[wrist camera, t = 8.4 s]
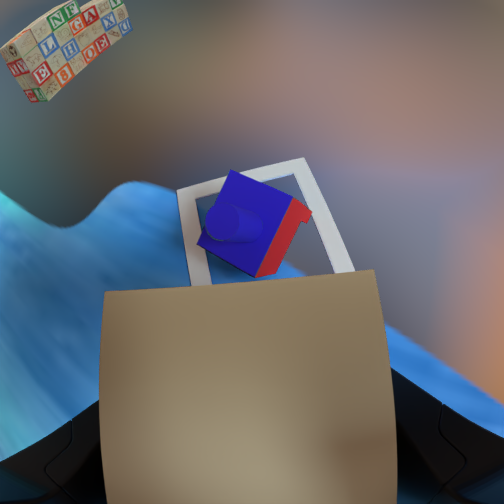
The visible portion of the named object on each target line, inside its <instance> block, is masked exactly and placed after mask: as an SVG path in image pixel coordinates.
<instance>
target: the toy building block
mask: <svg viewBox="0 0 504 504" xmlns="http://www.w3.org/2000/svg"><path fill="white" fill-rule="evenodd" d="M311 214H312V211H311V210H310V209H308V208H307V207H306V206H305V205H303V204H302V203H301V202H299V201H298V200H297V199H295V198H294V197H292V196H290V195H288V194H286V193H284V192H281V191H279V190H277V189H275V188H272V187H270V186H268V185H266V184H263V183H261V182H259V181H257V180H254V179H252V178H250V177H247V176H245V175H243V174H240V173H238V172H235V171H233V170H230V171H229V173H228V176H227V178H226V180H225V182H224V184H223V186H222V188H221V190H220V193H219V195H218V197H217V199H216V201H215V204H214V206H213V207H212V208H210V210H209V211H208V213H207V214H206V218H205V226H204V228H203V230H202V233H201V235H200V237H199V239H198V242H197V244H196V245H198V246H200V247H202V248H203V249H205V250H207V251H208V252H210V253H212V254H214V255H215V256H217V257H219V258H221V259H222V260H224V261H226V262H227V263H229V264H231V265H233V266H234V267H236V268H238V269H240V270H241V271H243V272H245V273H247V274H248V275H250V276H252V277H254V278H257V277H262V276H266V275H271V274H276V272H277V269H278V267H279V265H280V263H281V261H282V259H283V257H284V255H285V253H286V251H287V249H288V247H289V245H290V243H291V241H292V239H293V237H294V235H295V233H296V231H297V229H298V227H299V224H300V222H301V221H302V222H304V223H307V222H308V220H309V218H310V216H311Z"/></svg>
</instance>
